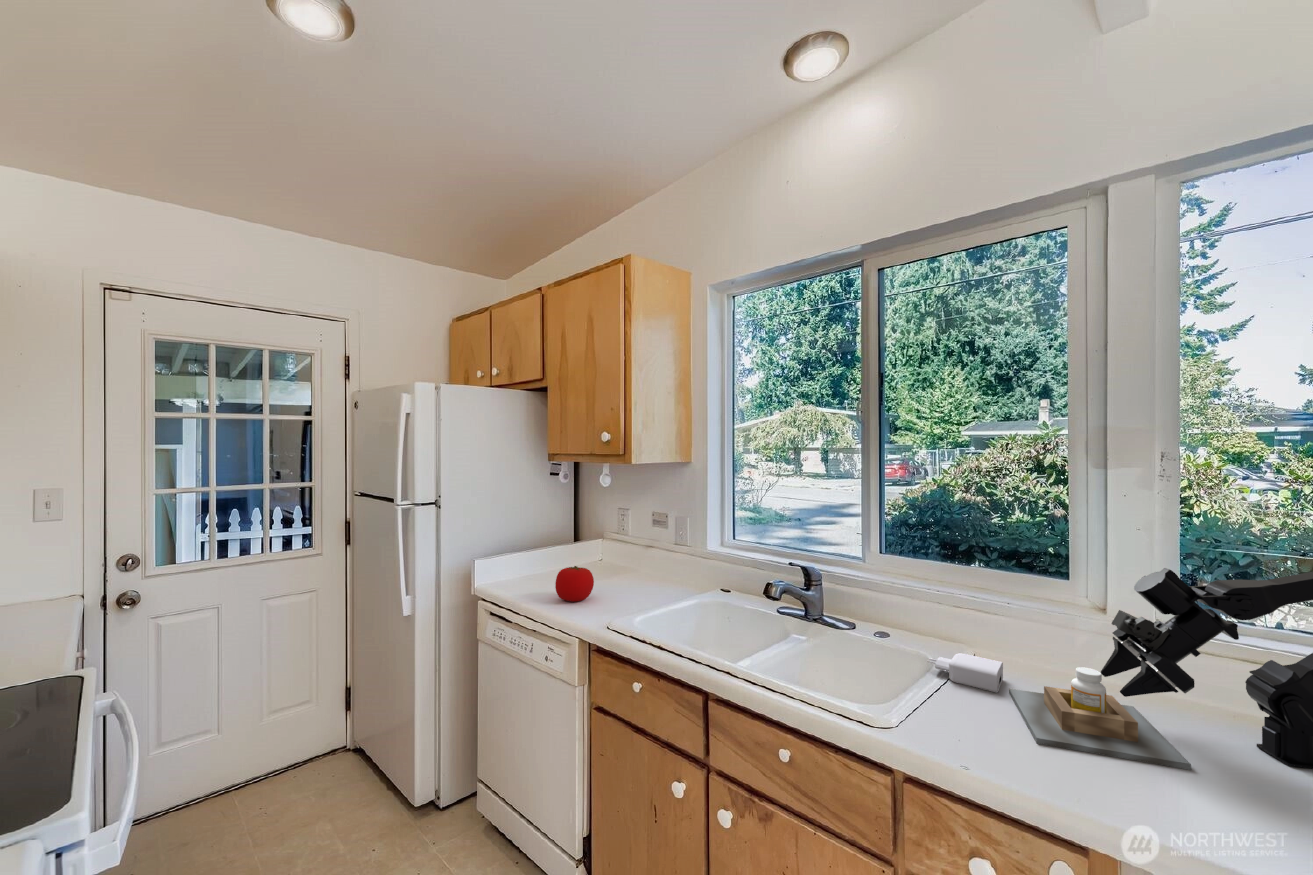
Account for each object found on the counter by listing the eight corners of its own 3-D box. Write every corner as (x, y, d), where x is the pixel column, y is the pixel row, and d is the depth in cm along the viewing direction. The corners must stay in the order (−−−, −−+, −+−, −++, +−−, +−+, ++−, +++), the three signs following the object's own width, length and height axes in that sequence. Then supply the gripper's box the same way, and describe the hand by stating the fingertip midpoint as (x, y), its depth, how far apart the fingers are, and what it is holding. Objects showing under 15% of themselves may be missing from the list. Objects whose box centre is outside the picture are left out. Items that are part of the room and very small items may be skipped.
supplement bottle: (1085, 712, 110) (1084, 664, 110) (1113, 726, 105) (1113, 675, 105) (1064, 716, 109) (1064, 666, 109) (1092, 729, 104) (1092, 678, 104)
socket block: (1133, 711, 113) (1133, 689, 113) (1191, 769, 93) (1190, 743, 93) (1008, 692, 121) (1008, 672, 121) (1036, 743, 101) (1036, 718, 101)
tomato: (548, 603, 187) (548, 569, 187) (566, 593, 200) (566, 560, 200) (582, 606, 183) (583, 571, 183) (598, 596, 196) (599, 563, 196)
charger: (932, 664, 137) (1003, 680, 128) (923, 676, 130) (997, 694, 121) (932, 645, 138) (1003, 660, 128) (923, 656, 130) (997, 673, 121)
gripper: (1124, 587, 113) (1060, 635, 117) (1170, 613, 95) (1093, 668, 99) (1173, 630, 110) (1106, 678, 114) (1230, 665, 92) (1149, 720, 96)
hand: (1111, 684), depth 106 cm, fingers open, 9 cm apart
